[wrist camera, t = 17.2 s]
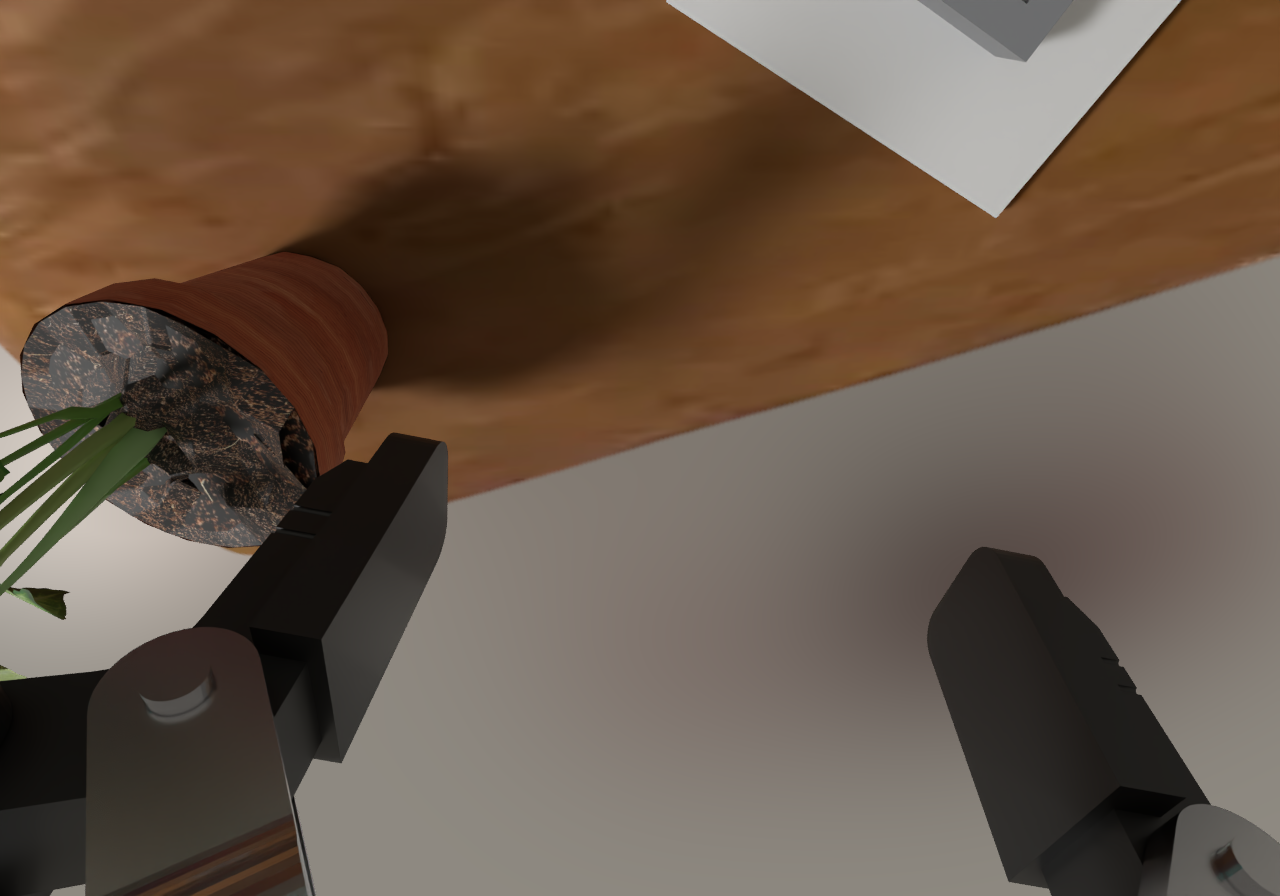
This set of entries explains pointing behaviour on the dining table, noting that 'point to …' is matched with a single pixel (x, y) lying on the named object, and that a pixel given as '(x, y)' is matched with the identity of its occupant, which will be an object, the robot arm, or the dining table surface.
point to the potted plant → (193, 402)
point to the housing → (946, 72)
